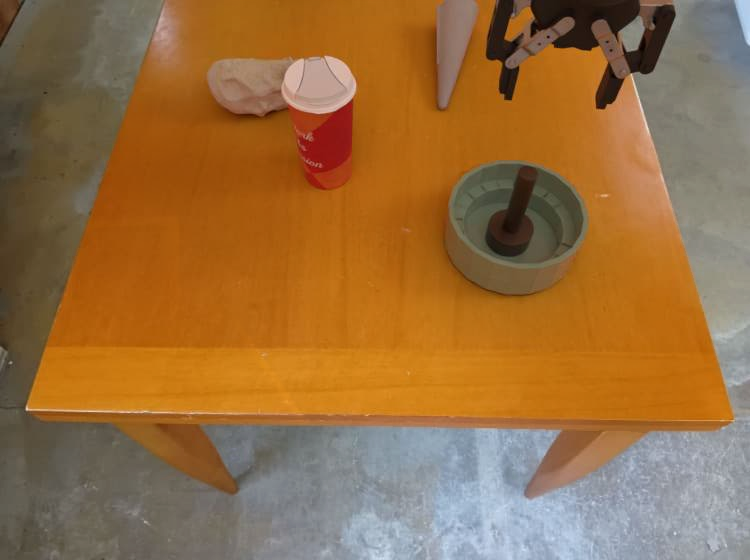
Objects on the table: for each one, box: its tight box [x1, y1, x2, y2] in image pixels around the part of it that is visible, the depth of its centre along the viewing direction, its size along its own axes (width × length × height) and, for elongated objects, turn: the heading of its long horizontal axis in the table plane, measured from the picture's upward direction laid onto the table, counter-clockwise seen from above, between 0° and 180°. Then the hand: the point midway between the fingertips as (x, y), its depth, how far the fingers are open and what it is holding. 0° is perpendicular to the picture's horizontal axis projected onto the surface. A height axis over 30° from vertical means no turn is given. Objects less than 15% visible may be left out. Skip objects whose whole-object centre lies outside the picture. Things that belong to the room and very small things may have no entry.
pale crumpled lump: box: [206, 56, 309, 118], centre depth 78 cm, size 15×7×15 cm
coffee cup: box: [281, 55, 357, 191], centre depth 68 cm, size 8×8×15 cm
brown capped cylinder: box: [485, 166, 538, 257], centre depth 63 cm, size 5×5×11 cm
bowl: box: [443, 159, 590, 295], centre depth 65 cm, size 15×15×6 cm
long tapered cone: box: [436, 0, 480, 111], centre depth 83 cm, size 6×6×19 cm
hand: (553, 99), depth 54 cm, fingers open, 8 cm apart
